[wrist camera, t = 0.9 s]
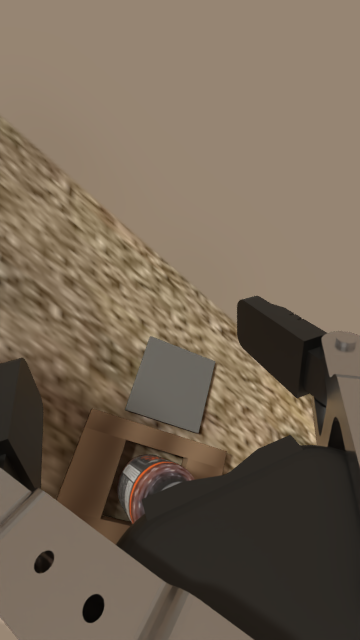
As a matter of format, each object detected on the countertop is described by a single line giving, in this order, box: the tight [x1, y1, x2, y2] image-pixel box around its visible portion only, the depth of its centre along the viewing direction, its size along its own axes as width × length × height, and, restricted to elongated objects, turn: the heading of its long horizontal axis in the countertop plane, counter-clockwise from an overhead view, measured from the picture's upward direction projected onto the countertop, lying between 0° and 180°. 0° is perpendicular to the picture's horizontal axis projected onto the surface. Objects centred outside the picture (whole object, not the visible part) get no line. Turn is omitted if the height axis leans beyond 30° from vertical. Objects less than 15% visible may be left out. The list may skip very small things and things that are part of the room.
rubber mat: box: [125, 337, 215, 433], centre depth 36 cm, size 9×9×1 cm
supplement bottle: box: [117, 455, 195, 524], centre depth 27 cm, size 6×6×11 cm
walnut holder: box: [56, 409, 227, 545], centre depth 31 cm, size 16×11×2 cm
